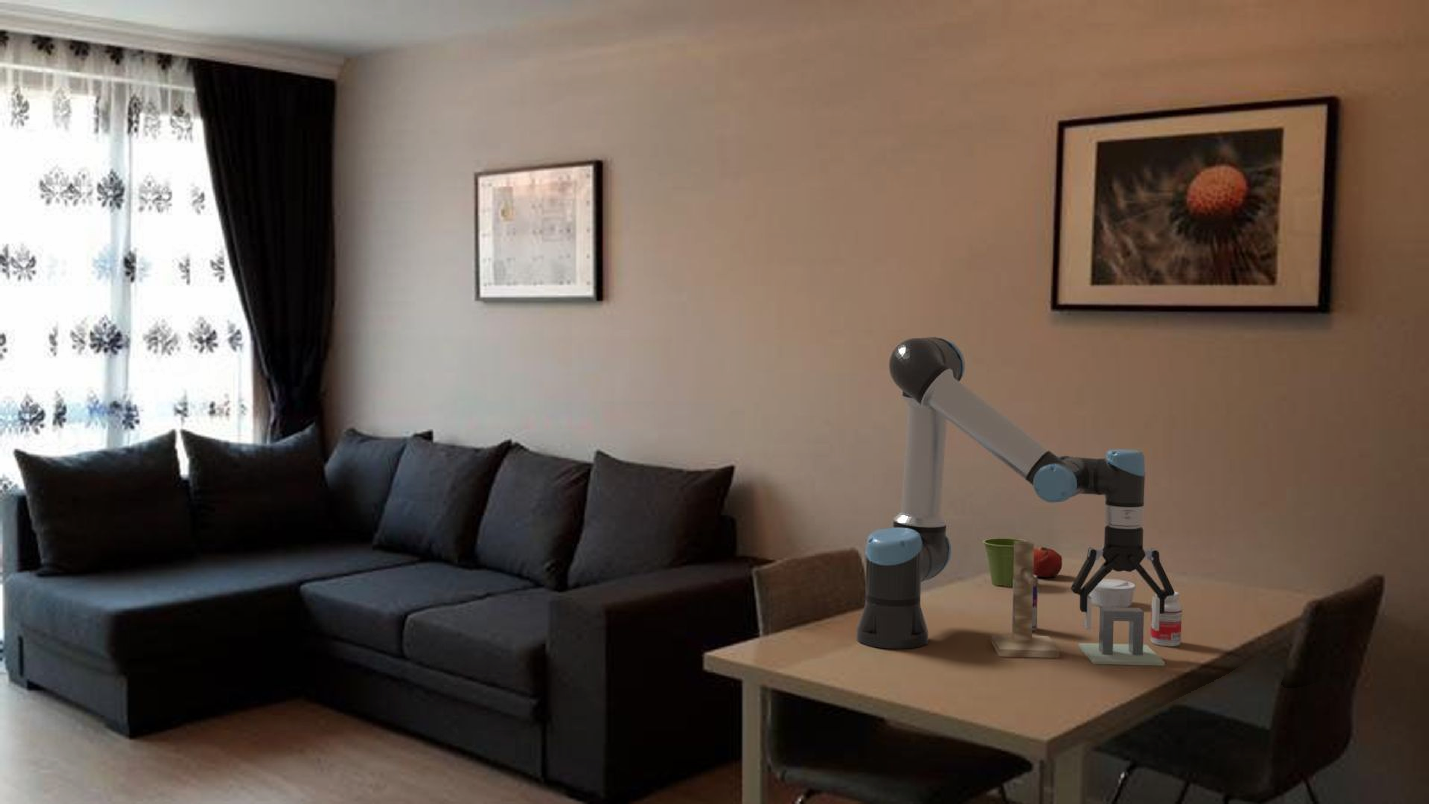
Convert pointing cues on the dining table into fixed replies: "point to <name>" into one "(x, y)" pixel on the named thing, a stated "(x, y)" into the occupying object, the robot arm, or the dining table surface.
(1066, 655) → the dining table surface
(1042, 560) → the tomato
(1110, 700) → the dining table surface
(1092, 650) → the mat
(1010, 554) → the plant pot
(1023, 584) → the stand
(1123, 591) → the ramekin
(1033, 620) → the energy drink
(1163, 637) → the pill bottle
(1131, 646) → the c link
